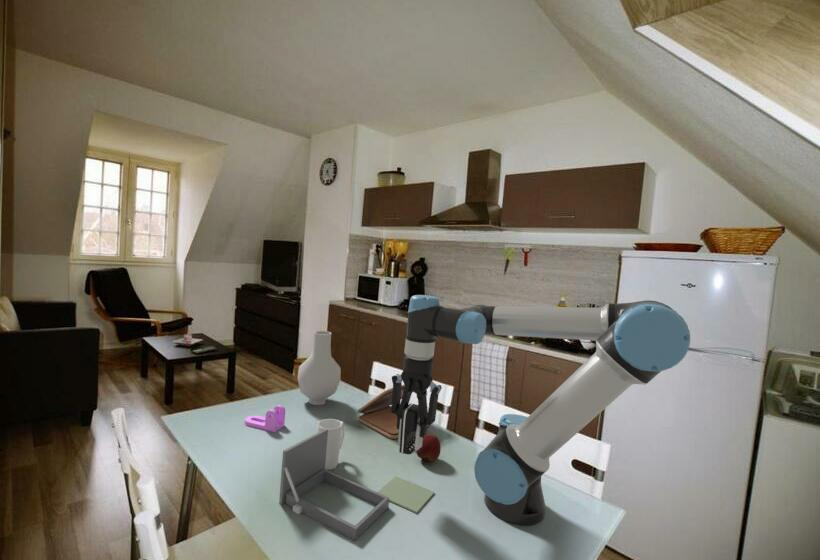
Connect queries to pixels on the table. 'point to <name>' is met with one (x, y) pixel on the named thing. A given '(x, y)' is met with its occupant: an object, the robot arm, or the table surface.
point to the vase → (319, 371)
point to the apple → (429, 448)
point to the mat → (406, 494)
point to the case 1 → (308, 470)
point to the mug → (332, 440)
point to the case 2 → (381, 414)
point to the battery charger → (409, 428)
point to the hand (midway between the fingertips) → (409, 444)
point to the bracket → (268, 419)
